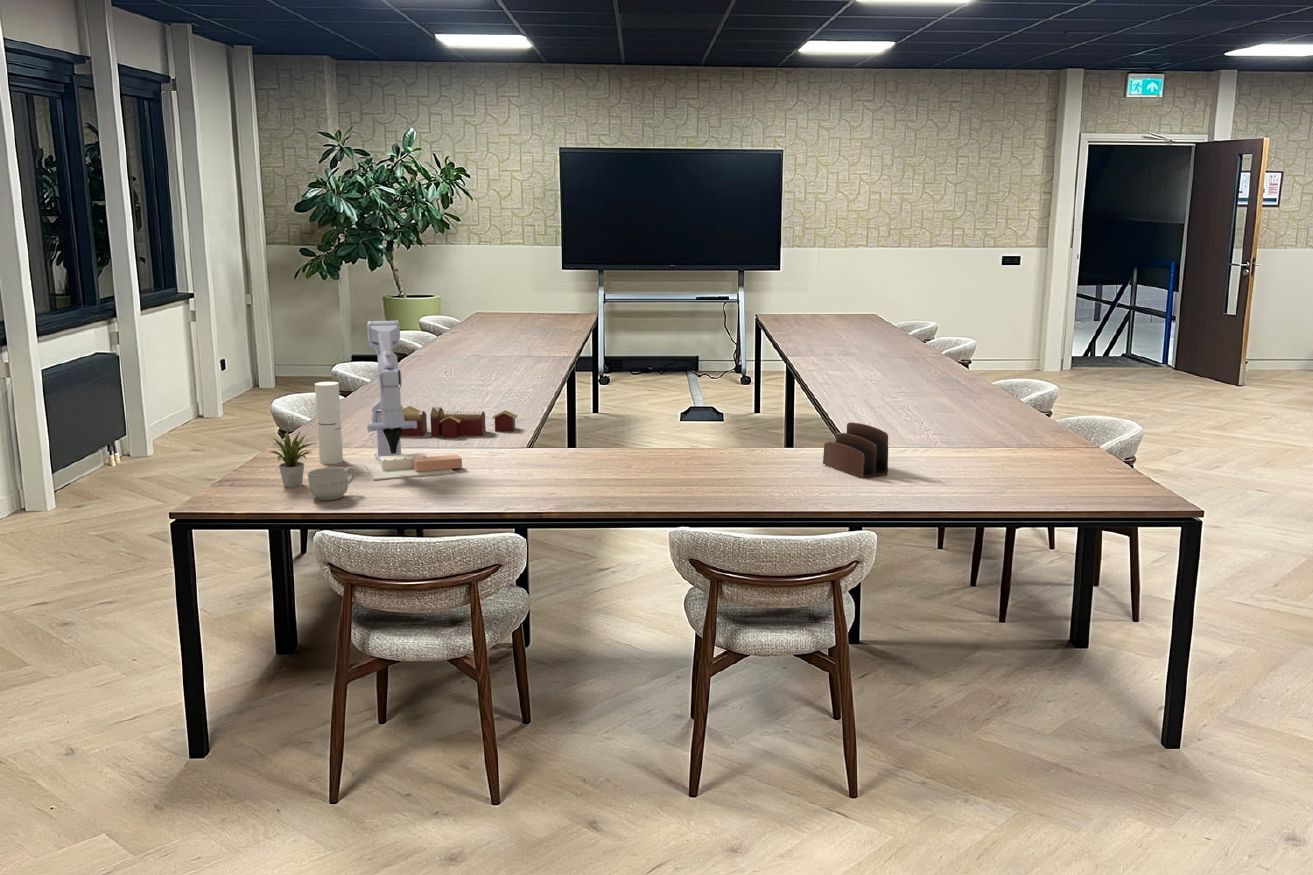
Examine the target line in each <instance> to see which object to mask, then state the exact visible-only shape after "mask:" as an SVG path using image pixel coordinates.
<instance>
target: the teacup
mask: <svg viewBox="0 0 1313 875" xmlns="http://www.w3.org/2000/svg"><path fill="white" fill-rule="evenodd" d="M349 471H350V472H351V474H350V477H349V478H348V472H349ZM306 475H307V480H308V487H309V492H310V494H311V496H313V497H315V498H316V499H317V500H319V501H332V500H337V499H339V498H340V499H341V498H342V497H343V496H344V495H345V494H346V492H347V491H348V490H349V489H348V488H349V485H350V484H351V483H352V482H353V481H354V479H355V477H356V475H357V474H356V470H355V468H354V467H351V466H348V467H342V466H330V467H329V466H328V467H320V468H316V469H313V470H309V471H308V472H307V474H306Z"/></svg>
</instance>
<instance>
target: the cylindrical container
mask: <svg viewBox="0 0 1313 875" xmlns="http://www.w3.org/2000/svg"><path fill="white" fill-rule="evenodd" d="M339 383H340V382H337V381H320V382H316V383H314V391H315V392H314V393H315V408H316V423H317V438H318V439H317V440H318V442H317V444H318V454H319V455H318V456H319V460H318V461H319V464H322V465H323V464H324V465H331V464H333V465H334V464H339V462H340V463H342V462H343V461H344V456H343V455H344V454H343V440H342V439H343V437H342V423H341V422H342V420H341V402H340V401H341V400H340V384H339Z"/></svg>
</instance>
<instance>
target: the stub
mask: <svg viewBox="0 0 1313 875" xmlns="http://www.w3.org/2000/svg"><path fill="white" fill-rule="evenodd" d="M413 468H414V469H415V471H416V472H419V471H431V470H442V469H452V470H453V469H462V468H463V458H462V457H461V456H460V455H459V454H457V453H456V454H446V455H435V456H428V457H420V458H413Z"/></svg>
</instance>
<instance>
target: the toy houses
mask: <svg viewBox="0 0 1313 875" xmlns="http://www.w3.org/2000/svg"><path fill="white" fill-rule="evenodd" d="M403 413H404V421H416V422H417V428H405V429H402V435H401V437H423V436H424V435H426V433H427V432H428V422H427V413H426V411H425V410H419V409H418V408H415V407H413V406H411V405H409V406H407V407H404V408H403ZM429 415H430V437H431V438H440V437H441V436H442V439H457V438H458V437H462V436H463V437H466V436H467V437H468V436H469V437H470V436H472V437H475V436H476V437H483V435H485V433H486V429H487V428H486V413H485V411H483V410H482V411H481V410H479V411H475V410H474V411H473V410H471V411H467V410H465V411H464V410H463V411H459V410H455V411H453V410H452V411H448V410H447V412H446V411H445V410H444V409H443V408H442V407H435V406H432V408H431V411H430V414H429ZM517 418H518V415H517V414H515V413H513V412H510V411H508V410H502V411H501V412H499V413H497V414H494V415H493V416H492V418H491V420H493V419H494V432H512V433H513V432H515V429H516V420H517Z"/></svg>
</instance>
